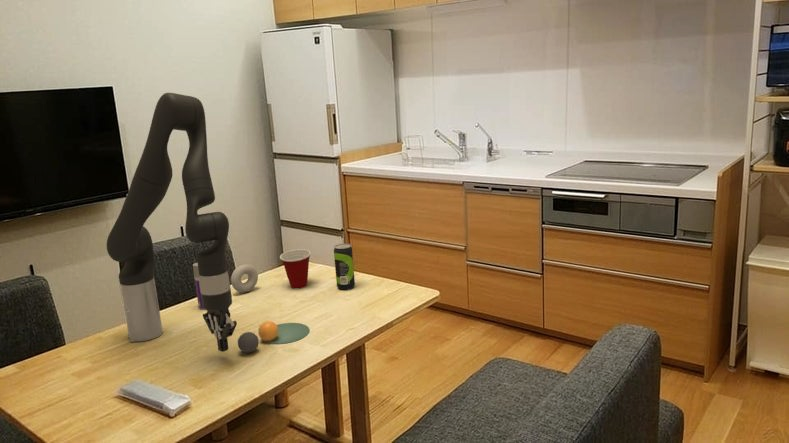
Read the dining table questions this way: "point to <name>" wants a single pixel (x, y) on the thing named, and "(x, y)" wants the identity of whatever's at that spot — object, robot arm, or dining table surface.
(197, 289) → the container
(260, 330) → the orange ball
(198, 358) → the dining table surface
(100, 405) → the dining table surface
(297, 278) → the plastic cup
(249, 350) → the dark grey ball
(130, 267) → the robot arm
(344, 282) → the beverage can
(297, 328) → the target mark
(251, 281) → the donut
